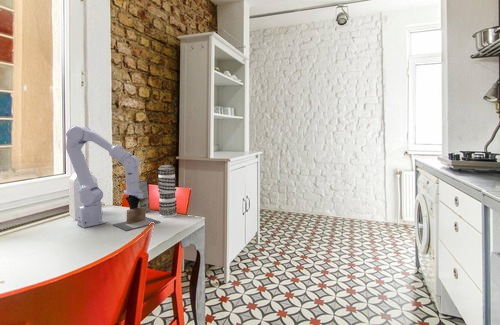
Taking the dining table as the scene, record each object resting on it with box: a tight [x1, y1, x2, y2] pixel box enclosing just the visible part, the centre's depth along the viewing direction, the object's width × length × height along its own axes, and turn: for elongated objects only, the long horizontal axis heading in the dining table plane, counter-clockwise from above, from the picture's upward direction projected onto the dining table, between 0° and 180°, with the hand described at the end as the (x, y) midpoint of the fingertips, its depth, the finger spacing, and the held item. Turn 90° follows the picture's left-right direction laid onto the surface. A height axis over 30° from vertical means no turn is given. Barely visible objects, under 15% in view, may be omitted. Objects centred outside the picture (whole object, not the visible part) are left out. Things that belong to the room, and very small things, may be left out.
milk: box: [68, 171, 99, 221], centre depth 147 cm, size 12×12×26 cm
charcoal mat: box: [112, 216, 161, 232], centre depth 132 cm, size 16×13×1 cm
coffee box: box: [138, 179, 151, 213], centre depth 155 cm, size 9×6×16 cm
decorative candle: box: [156, 164, 178, 218], centre depth 145 cm, size 9×9×25 cm
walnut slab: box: [126, 207, 147, 224], centre depth 133 cm, size 8×2×6 cm, turn 138°
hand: (134, 211), depth 134 cm, fingers closed
